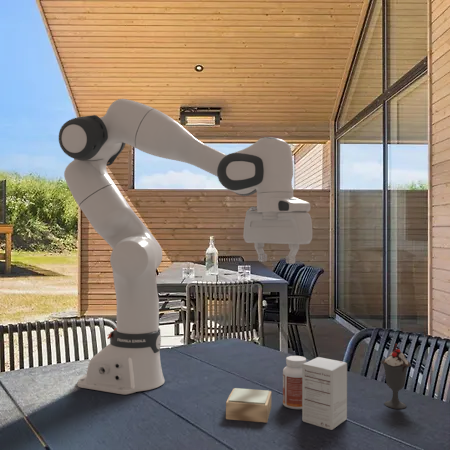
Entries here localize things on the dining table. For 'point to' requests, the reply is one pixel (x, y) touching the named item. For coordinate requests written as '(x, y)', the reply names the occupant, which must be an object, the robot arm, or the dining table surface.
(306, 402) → the supplement box
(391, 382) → the sundae
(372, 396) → the dining table surface
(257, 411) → the plinth
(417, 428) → the dining table surface
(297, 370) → the pill bottle
